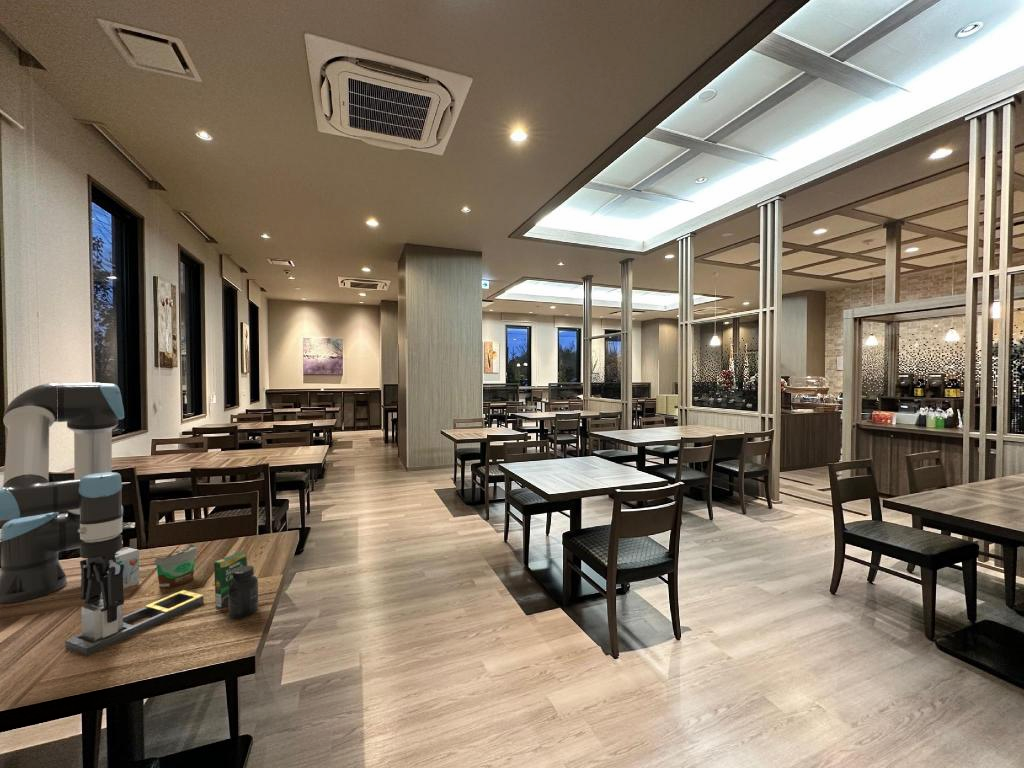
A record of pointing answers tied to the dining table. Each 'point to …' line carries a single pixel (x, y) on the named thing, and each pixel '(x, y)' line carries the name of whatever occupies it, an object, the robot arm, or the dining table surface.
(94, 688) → the dining table surface
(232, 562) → the coffee box
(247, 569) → the supplement bottle
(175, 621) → the dining table surface
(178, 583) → the food container
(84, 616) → the white rectangular block
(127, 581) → the light bulb box
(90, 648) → the rail
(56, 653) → the dining table surface
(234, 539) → the dining table surface
